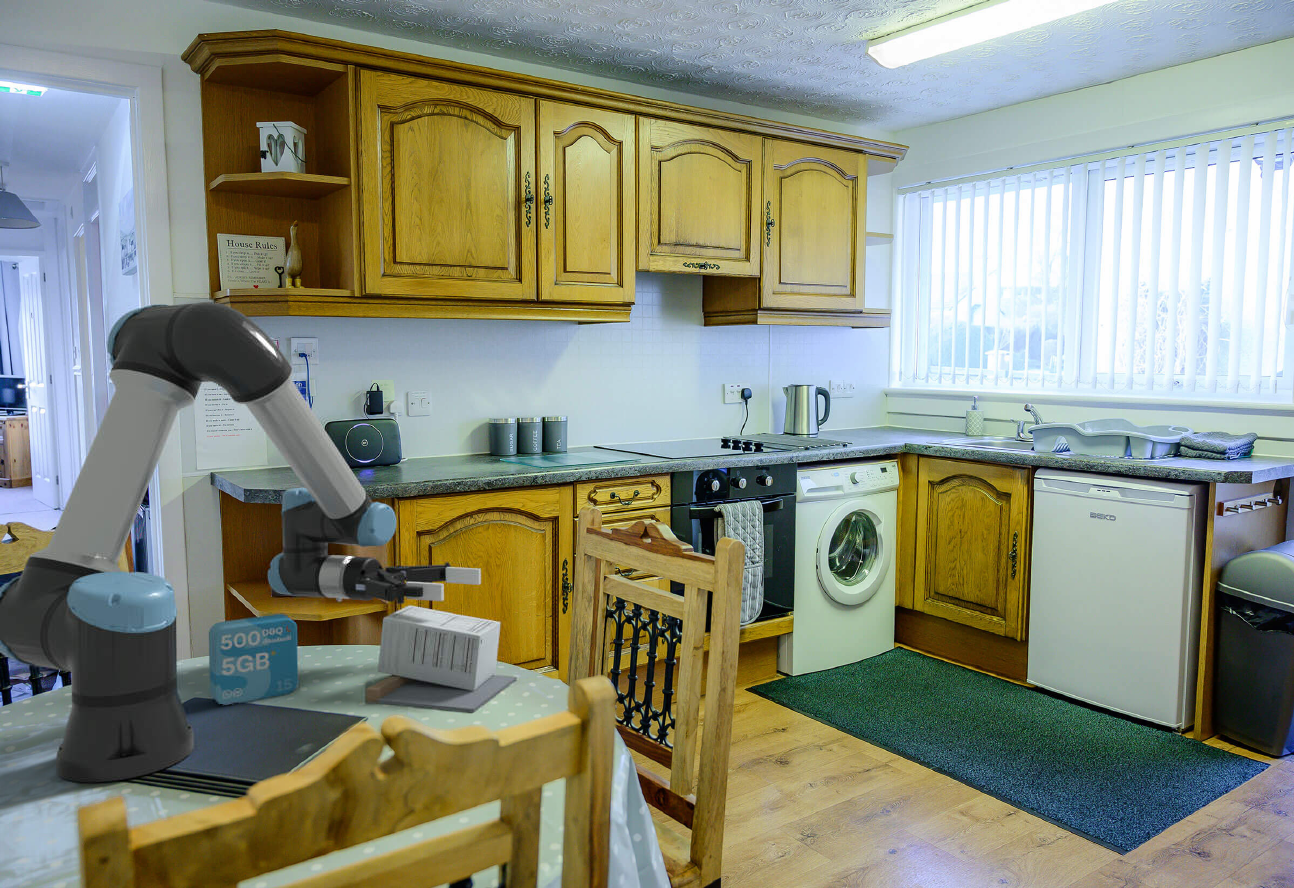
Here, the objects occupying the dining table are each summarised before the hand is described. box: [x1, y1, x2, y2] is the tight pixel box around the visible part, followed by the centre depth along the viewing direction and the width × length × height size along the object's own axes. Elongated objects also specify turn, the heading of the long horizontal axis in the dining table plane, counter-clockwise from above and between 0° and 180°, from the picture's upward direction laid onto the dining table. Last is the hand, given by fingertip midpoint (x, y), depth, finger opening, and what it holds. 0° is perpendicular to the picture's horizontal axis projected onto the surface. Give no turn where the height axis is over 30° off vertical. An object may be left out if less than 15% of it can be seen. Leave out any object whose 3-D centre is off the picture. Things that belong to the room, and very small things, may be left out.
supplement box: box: [377, 605, 501, 691], centre depth 143 cm, size 10×9×17 cm
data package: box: [208, 613, 299, 705], centre depth 137 cm, size 12×4×12 cm, turn 127°
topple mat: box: [365, 674, 517, 713], centre depth 140 cm, size 18×16×2 cm
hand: (462, 584), depth 149 cm, fingers open, 13 cm apart
